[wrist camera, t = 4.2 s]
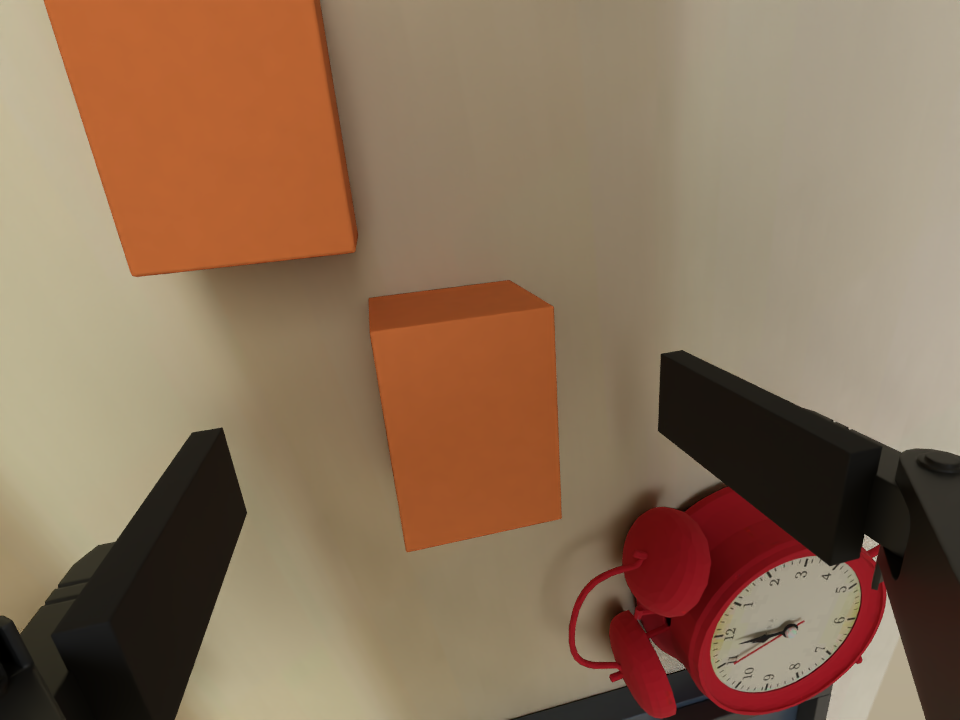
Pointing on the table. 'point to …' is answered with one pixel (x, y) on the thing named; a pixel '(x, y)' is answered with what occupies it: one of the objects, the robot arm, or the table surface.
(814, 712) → the backplate
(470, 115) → the table surface
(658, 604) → the alarm clock
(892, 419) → the table surface
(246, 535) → the table surface
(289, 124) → the orange rectangular block
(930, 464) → the robot arm
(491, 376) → the small orange cuboid
